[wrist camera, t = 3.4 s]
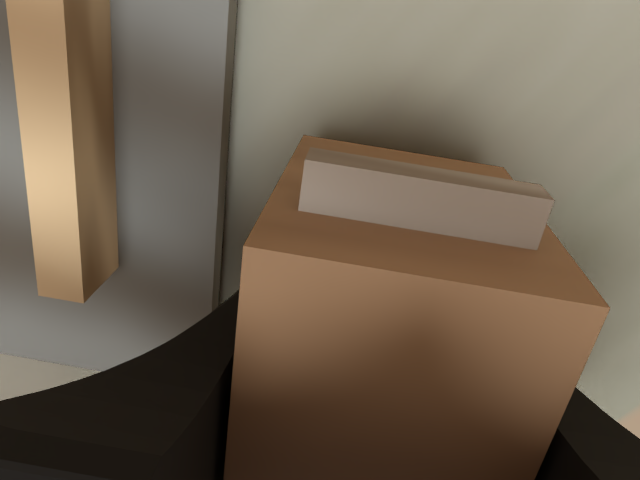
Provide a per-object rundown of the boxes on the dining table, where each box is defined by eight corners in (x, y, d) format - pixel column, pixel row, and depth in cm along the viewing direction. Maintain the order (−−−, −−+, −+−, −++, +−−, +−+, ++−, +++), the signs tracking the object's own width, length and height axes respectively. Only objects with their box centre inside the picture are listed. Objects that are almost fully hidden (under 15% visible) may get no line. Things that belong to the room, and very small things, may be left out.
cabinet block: (425, 429, 15) (451, 666, 10) (269, 401, 15) (211, 620, 10) (514, 132, 12) (636, 250, 6) (308, 99, 12) (247, 185, 6)
